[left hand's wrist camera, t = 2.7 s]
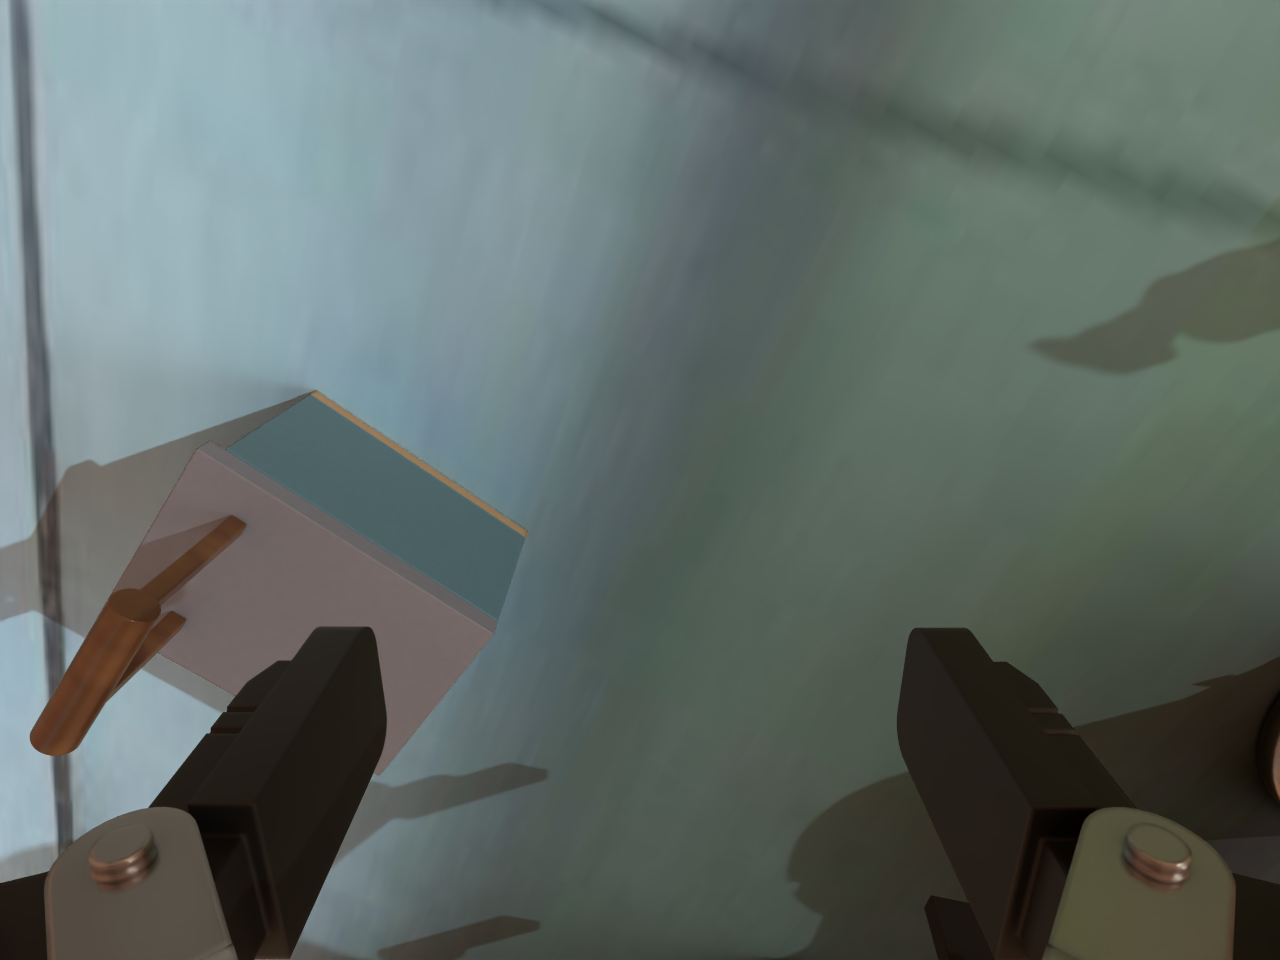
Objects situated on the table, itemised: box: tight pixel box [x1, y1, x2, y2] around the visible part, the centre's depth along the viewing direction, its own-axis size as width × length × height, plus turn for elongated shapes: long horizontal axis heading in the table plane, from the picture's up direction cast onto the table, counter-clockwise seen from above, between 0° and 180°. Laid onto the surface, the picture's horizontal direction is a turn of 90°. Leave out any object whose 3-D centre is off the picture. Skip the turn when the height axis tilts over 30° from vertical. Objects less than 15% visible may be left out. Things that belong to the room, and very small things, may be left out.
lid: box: [30, 441, 497, 776], centre depth 29 cm, size 14×9×8 cm
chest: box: [225, 390, 528, 622], centre depth 37 cm, size 13×9×9 cm
